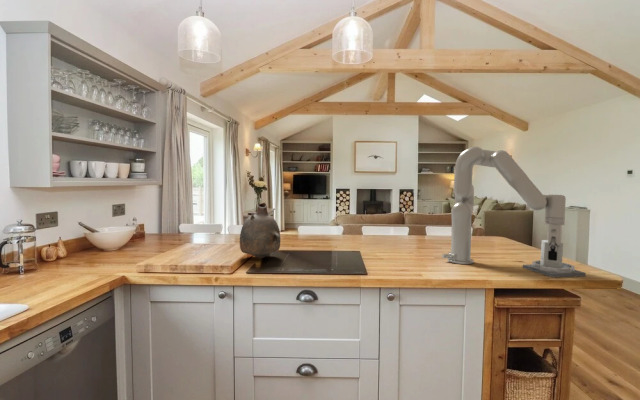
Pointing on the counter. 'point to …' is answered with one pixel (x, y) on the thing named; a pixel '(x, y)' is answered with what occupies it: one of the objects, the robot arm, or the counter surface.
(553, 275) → the charcoal board
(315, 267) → the counter surface
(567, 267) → the steel ring
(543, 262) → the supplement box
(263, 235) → the jug
